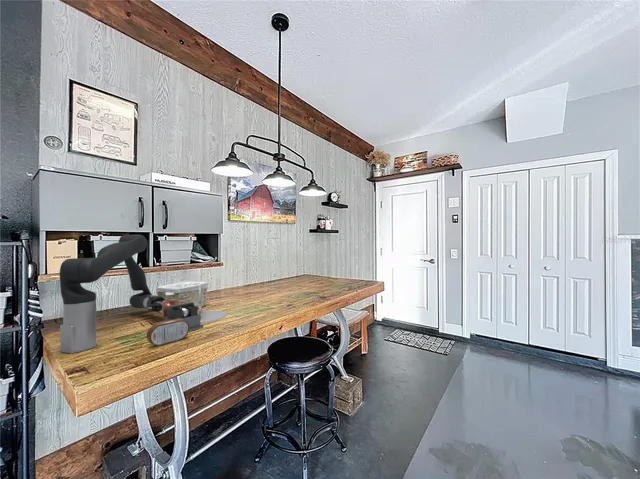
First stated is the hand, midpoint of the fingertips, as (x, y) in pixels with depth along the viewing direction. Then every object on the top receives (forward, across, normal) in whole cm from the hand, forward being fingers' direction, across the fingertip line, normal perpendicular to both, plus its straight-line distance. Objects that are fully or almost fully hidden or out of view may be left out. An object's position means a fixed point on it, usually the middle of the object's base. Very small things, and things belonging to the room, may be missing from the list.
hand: (170, 307), depth 130 cm
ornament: (+2, +21, +8) cm, 22 cm away
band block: (+12, 0, +8) cm, 14 cm away
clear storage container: (-25, +19, +8) cm, 32 cm away
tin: (+23, -11, +8) cm, 27 cm away
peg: (+8, 0, +3) cm, 8 cm away
